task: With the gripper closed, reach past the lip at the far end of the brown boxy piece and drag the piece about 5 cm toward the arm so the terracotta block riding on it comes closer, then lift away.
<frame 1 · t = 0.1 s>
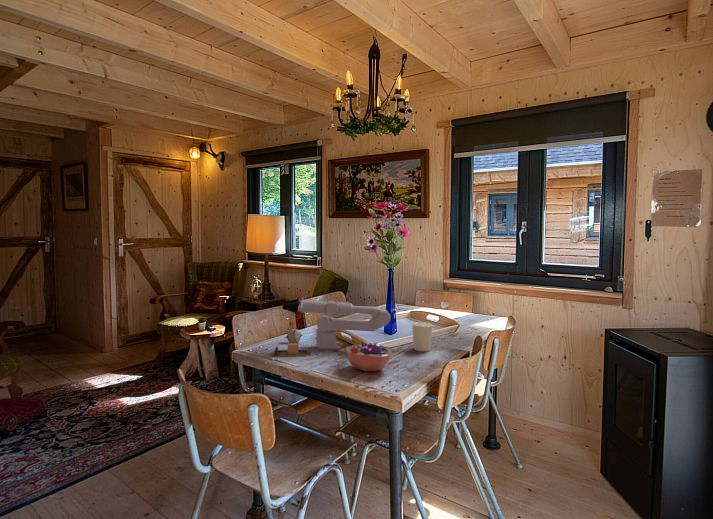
hand: (283, 304, 203), 22 cm above the table, tool horizontal, fingers open, 7 cm apart
block: (293, 353, 195), point 1 cm above the table, touching brown boxy piece
lane rails: (290, 356, 195), on the table
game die: (293, 344, 216), on the table
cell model: (368, 369, 177), on the table
brown boxy piece: (293, 352, 195), point 2 cm above the table, slide at 0.0 cm, touching block
candle holder: (422, 349, 207), on the table
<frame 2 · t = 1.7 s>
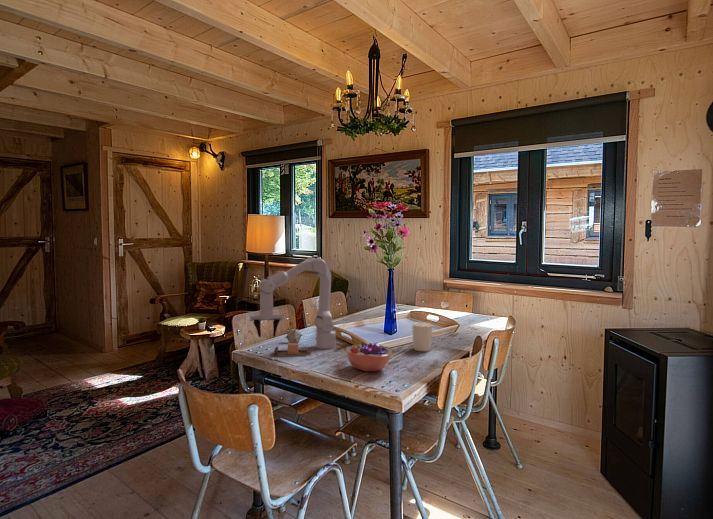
hand: (267, 336, 193), 9 cm above the table, tool pointing down, fingers open, 6 cm apart
nothing on the table moved.
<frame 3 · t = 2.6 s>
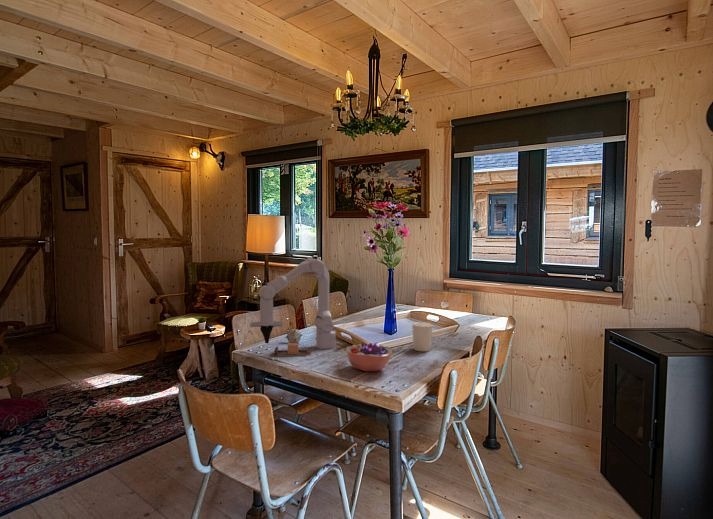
hand: (267, 342, 193), 7 cm above the table, tool pointing down, fingers closed
nothing on the table moved.
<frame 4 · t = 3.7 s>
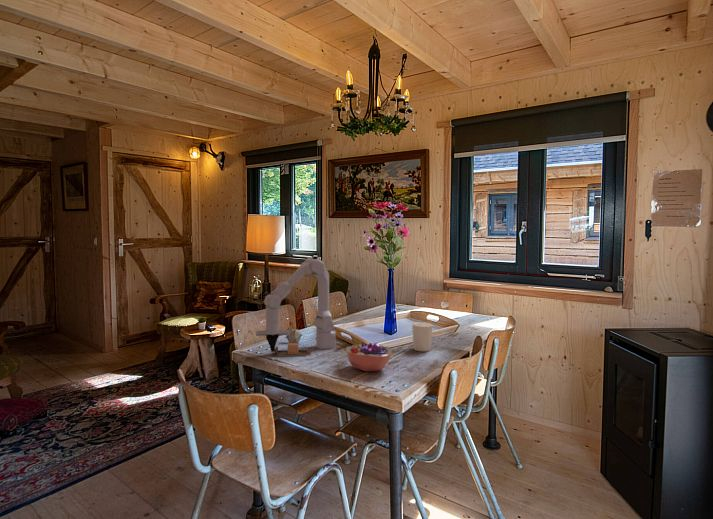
hand: (272, 351, 194), 3 cm above the table, tool pointing down, fingers closed
brown boxy piece: (293, 352, 195), point 2 cm above the table, slide at 0.0 cm, touching block, gripper
everything else where it was.
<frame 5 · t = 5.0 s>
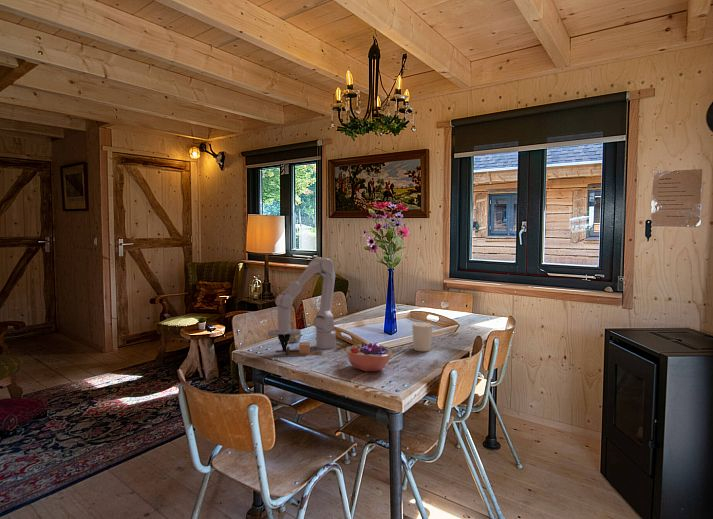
hand: (284, 350, 194), 3 cm above the table, tool pointing down, fingers closed
block: (304, 353, 195), point 1 cm above the table, touching brown boxy piece
brown boxy piece: (304, 351, 195), point 2 cm above the table, slide at 5.2 cm, touching block, gripper
everything else where it was.
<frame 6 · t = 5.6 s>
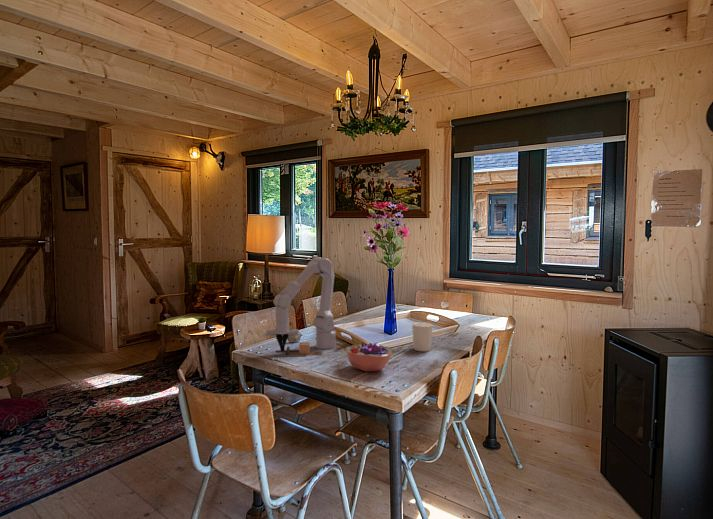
hand: (282, 350, 194), 3 cm above the table, tool pointing down, fingers closed
brown boxy piece: (304, 351, 195), point 2 cm above the table, slide at 5.2 cm, touching block
everything else where it was.
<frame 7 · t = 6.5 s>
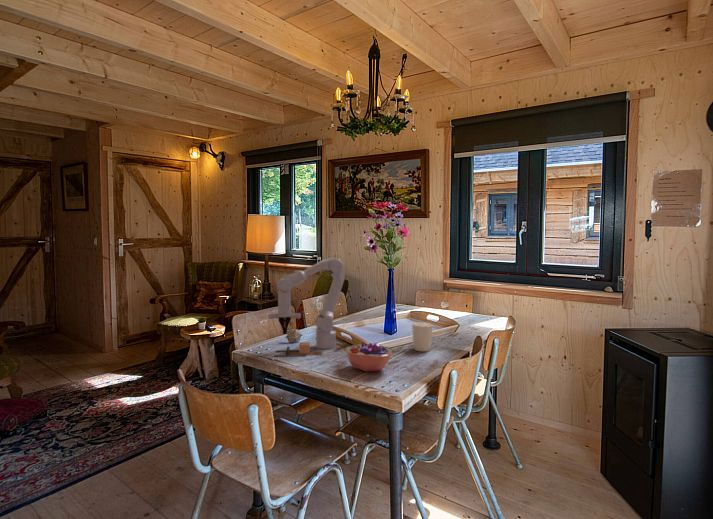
hand: (285, 333, 199), 9 cm above the table, tool pointing down, fingers closed
nothing on the table moved.
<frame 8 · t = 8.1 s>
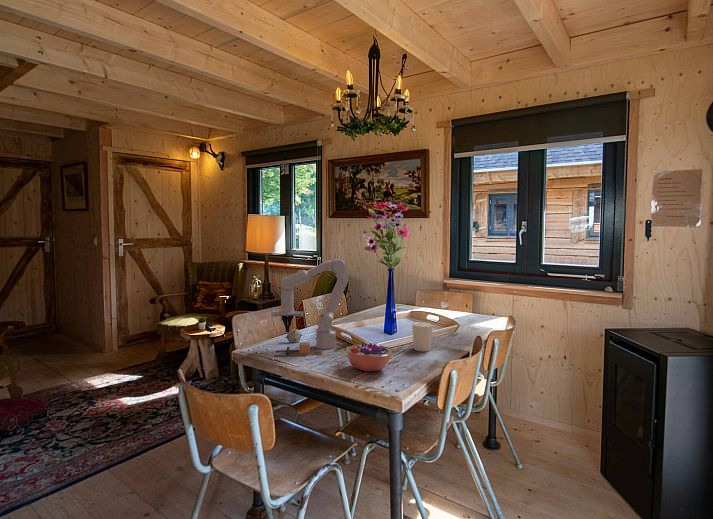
hand: (287, 331, 202), 9 cm above the table, tool pointing down, fingers closed
nothing on the table moved.
at the end: brown boxy piece slide at 5.2 cm; block moved 5.2 cm from its start; block touching brown boxy piece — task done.
